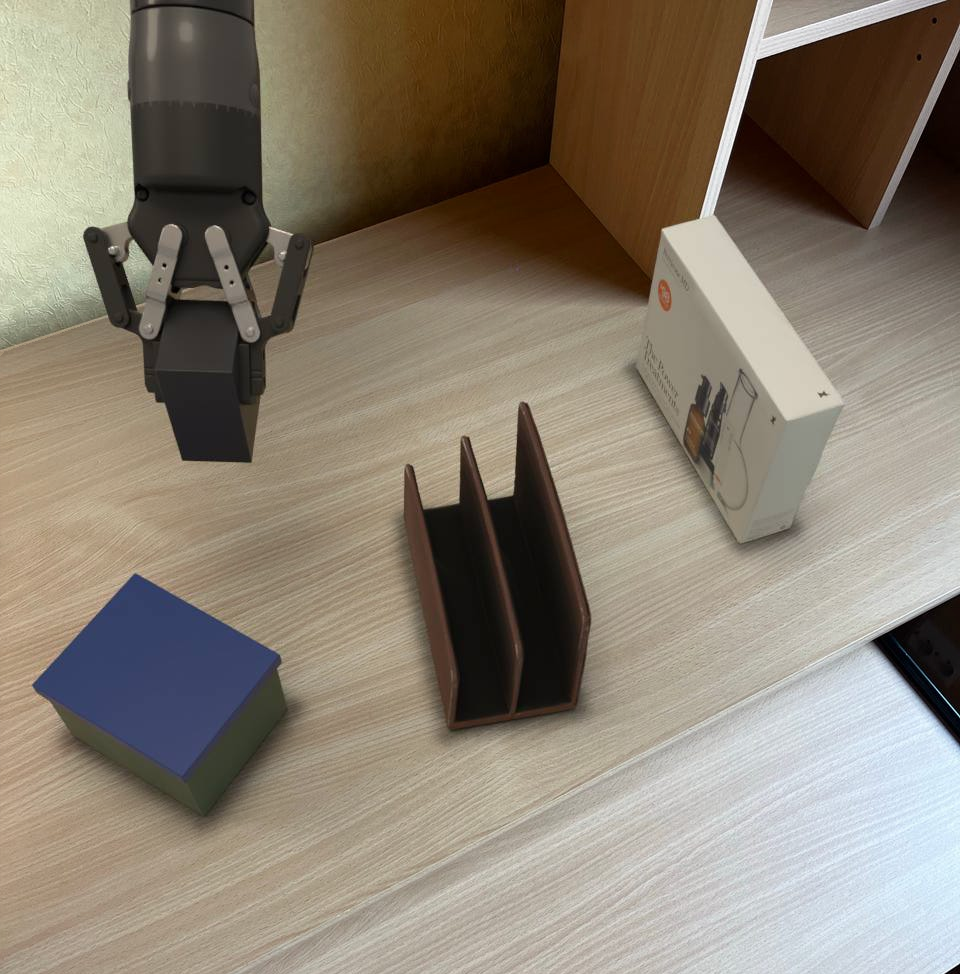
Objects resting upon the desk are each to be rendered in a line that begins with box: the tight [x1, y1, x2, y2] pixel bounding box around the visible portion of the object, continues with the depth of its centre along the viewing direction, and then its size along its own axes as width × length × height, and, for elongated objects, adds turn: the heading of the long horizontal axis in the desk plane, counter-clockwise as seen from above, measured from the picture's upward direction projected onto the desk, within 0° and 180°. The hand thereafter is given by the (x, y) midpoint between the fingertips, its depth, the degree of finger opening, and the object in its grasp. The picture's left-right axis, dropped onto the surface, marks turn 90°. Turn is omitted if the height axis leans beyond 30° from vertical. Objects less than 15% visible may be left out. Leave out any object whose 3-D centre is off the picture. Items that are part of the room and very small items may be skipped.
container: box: [31, 572, 288, 817], centre depth 77 cm, size 13×11×8 cm
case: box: [155, 298, 262, 464], centre depth 70 cm, size 5×6×8 cm
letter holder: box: [403, 400, 592, 731], centre depth 80 cm, size 10×20×14 cm, turn 12°
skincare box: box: [635, 214, 846, 545], centre depth 89 cm, size 21×5×16 cm, turn 21°
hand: (206, 402), depth 69 cm, fingers closed on case, 4 cm apart
